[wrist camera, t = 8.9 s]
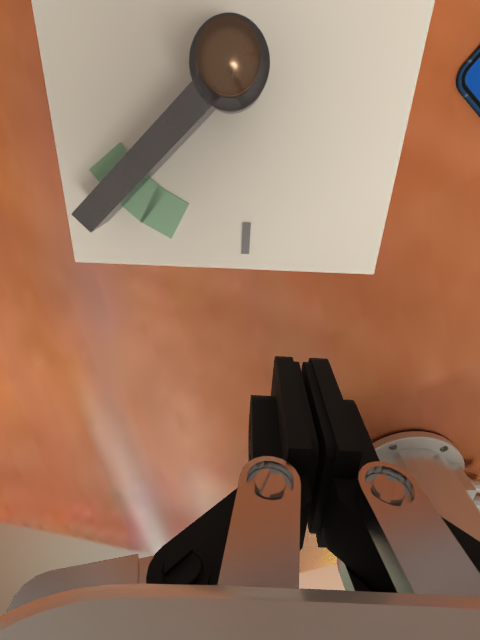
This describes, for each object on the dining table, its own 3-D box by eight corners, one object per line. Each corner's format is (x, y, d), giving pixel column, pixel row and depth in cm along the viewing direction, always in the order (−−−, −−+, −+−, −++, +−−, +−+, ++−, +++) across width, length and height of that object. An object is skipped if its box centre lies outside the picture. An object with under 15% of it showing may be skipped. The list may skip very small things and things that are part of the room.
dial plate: (446, -99, 21) (462, -117, 19) (367, 268, 31) (374, 275, 29) (22, -125, 20) (5, -146, 19) (82, 256, 30) (74, 262, 29)
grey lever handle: (233, 11, 22) (232, -27, 17) (279, 77, 23) (290, 61, 18) (75, 189, 26) (36, 202, 21) (122, 235, 28) (97, 257, 23)
